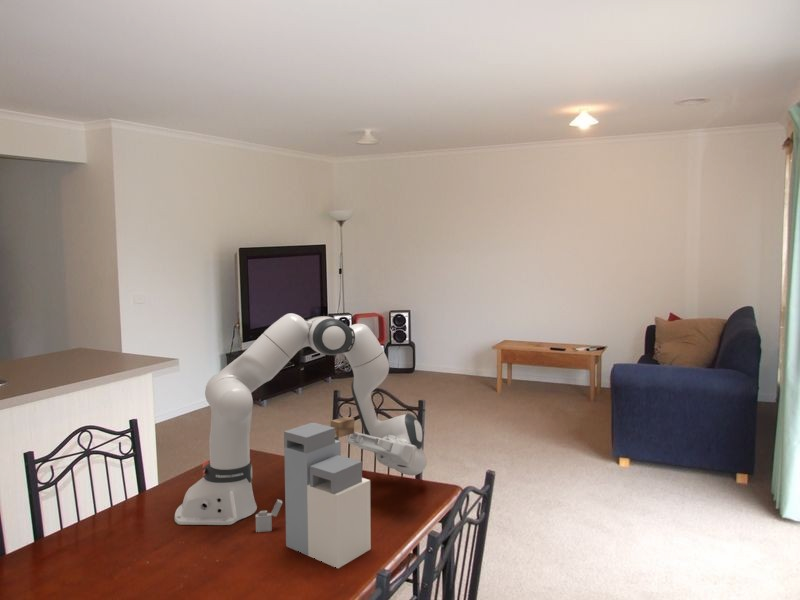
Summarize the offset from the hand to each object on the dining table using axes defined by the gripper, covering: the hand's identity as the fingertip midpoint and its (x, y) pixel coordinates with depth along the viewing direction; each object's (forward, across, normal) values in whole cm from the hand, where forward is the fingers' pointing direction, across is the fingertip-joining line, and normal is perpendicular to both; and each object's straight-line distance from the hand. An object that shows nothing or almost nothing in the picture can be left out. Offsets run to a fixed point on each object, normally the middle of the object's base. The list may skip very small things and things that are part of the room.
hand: (364, 438), depth 179 cm
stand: (+6, +5, +29) cm, 30 cm away
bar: (+14, 0, +4) cm, 15 cm away
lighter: (+8, -14, +31) cm, 35 cm away
